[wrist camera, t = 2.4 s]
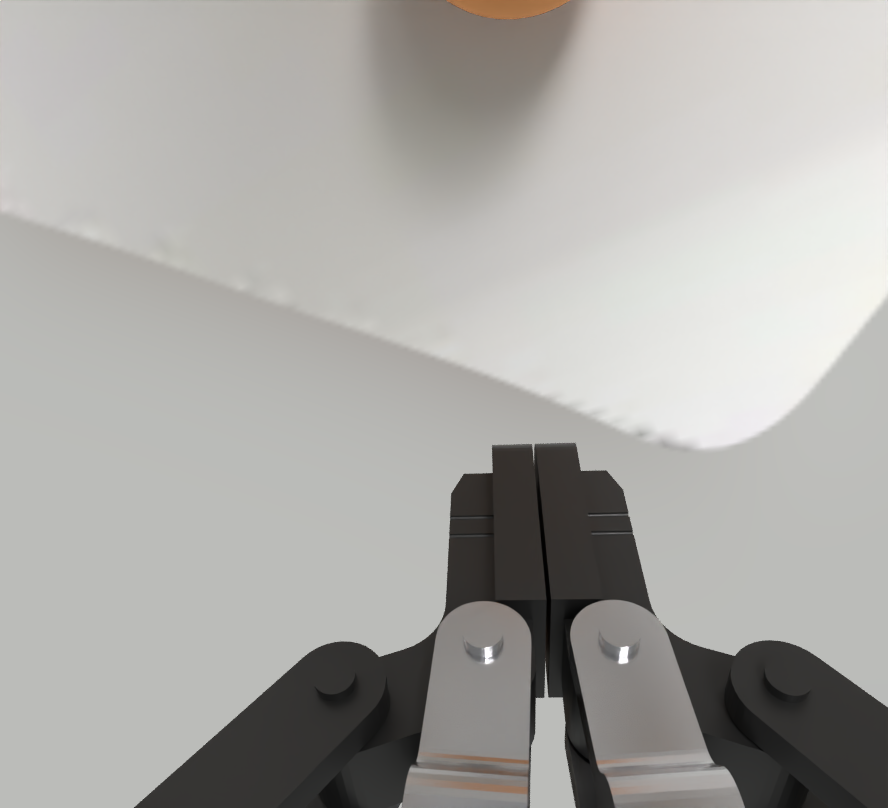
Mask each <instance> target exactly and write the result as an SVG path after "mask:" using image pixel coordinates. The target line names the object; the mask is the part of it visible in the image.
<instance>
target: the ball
mask: <svg viewBox="0 0 888 808" xmlns="http://www.w3.org/2000/svg"><path fill="white" fill-rule="evenodd" d="M447 1H448V2H450V3H451V4H453V5H454V6H456V7H458V8H461V9H463V10H465V11H467V12H469V13H473V14H476V15H479V16H482V17H488V18H494V19H520V18H527V17H532V16H536V15H539V14H543V13H546V12H548V11H551V10H553V9H555V8H557V7H560V6H562V5H563V4H565V3H566V2H568V1H570V0H447Z"/></svg>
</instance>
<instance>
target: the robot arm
mask: <svg viewBox="0 0 888 808" xmlns="http://www.w3.org/2000/svg"><path fill="white" fill-rule="evenodd" d="M492 459H493V460H492V461H493V473H486V474H484V473H483V474H464V475H463V476H462V478H461V479H460V481H459V482H458V484H457V486H456V487H455V489H454V490H453V492H452V493H451V511H450V532H449V534H450V538H449V552H448V573H447V594H446V608H445V612H444V615H443V618H442V620H441V622H440V624H439V625H438V627H437V628H436V629H435V630H434V632H433V633H431V635H429V636H428V637H427V638H426V639H424V640H423V641H422V642H420V643H418V644H416V645H415V646H412V647H409V648H407V649H404V650H401V651H398V652H394V653H391V654H388V655H384V656H381V657H378V655H377V654H376V653H375V652H373V651H372V650H371V649H369V648H367V647H366V646H364V645H361V644H358V643H354V642H334V643H330V644H326V645H323V646H321V647H319V648H317V649H315V650H313V651H311V652H310V653H309V654H307V655H306V656H305V657H303V658H302V659H301V660H300V661H299V662H298V663H297V664H296V665H294V666H293V667H292V668H291V669H290V670H289V671H288V672H287V673H285V674H284V675H283V676H282V677H281V678H280V679H279V680H277V681H276V682H275V683H274V684H273V685H272V686H271V687H270V688H269V689H267V690H266V691H265V692H264V693H263V694H262V695H261V696H259V697H258V698H257V699H256V700H255V701H254V702H253V703H252V704H250V705H249V706H248V707H247V708H246V709H245V710H244V711H242V712H241V713H240V714H239V715H238V716H237V717H236V718H235V719H233V720H232V721H231V722H230V723H229V724H228V725H227V726H226V727H224V728H223V729H222V730H221V731H220V732H219V733H218V734H217V735H216V736H214V737H213V738H212V739H211V740H210V741H209V742H207V743H206V744H205V745H204V746H203V747H202V748H201V749H200V750H198V751H197V752H196V753H195V754H194V755H193V756H192V757H191V758H189V759H188V760H187V761H186V762H185V763H184V764H183V765H182V766H180V767H179V768H178V769H177V770H176V771H175V772H174V773H173V774H171V775H170V776H169V777H168V778H167V779H166V780H165V781H164V782H162V783H161V784H160V785H159V786H158V787H157V788H156V789H155V790H153V791H152V792H151V793H150V794H149V795H148V796H147V797H145V798H144V799H143V800H142V801H141V802H140V803H139V804H138V805H137V806H136V807H134V808H398V807H399V805H400V803H402V802H403V803H402V808H530V767H531V764H530V763H531V744H532V742H533V740H534V735H535V704H536V702H535V701H536V698H544V688H545V687H544V685H545V662H546V673H547V685H548V697H563V702H564V713H565V722H566V724H565V750H566V756H567V761H568V767H569V772H570V778H571V784H572V789H573V795H574V801H575V806H576V808H888V707H886V706H885V705H883V704H882V703H881V702H879V701H878V700H876V699H875V698H874V697H872V696H871V695H869V694H868V693H867V692H865V691H864V690H862V689H861V688H860V687H858V686H857V685H855V684H854V683H853V682H851V681H850V680H849V679H847V678H846V677H844V676H843V675H841V674H840V673H839V672H837V671H836V670H834V669H833V668H832V667H830V666H829V665H828V664H826V663H825V662H823V661H822V660H821V659H819V658H818V657H816V656H815V655H813V654H811V653H810V652H808V651H807V650H805V649H802V648H801V647H798V646H796V645H793V644H790V643H786V642H781V641H770V640H769V641H759V642H754V643H752V644H749V645H747V646H745V647H744V648H742V649H741V650H740V651H739V652H738V653H737V654H736V656H732V655H728V654H725V653H721V652H717V651H714V650H710V649H706V648H703V647H699V646H697V645H693V644H691V643H689V642H687V641H684V640H683V639H681V638H679V637H677V636H676V635H674V634H673V633H672V632H670V631H669V630H668V629H667V628H666V627H665V626H664V625H663V624H662V623H661V622H660V621H659V619H658V618H657V617H656V615H655V613H654V612H653V610H652V607H651V604H650V601H649V597H648V593H647V588H646V584H645V580H644V576H643V572H642V568H641V564H640V559H639V555H638V551H637V547H636V543H635V539H634V535H633V532H632V531H633V530H632V526H631V522H630V517H628V509H627V505H626V501H625V496H624V493H623V489H622V488H621V487H620V486H619V485H618V484H617V482H616V481H615V480H614V479H613V478H612V477H611V476H610V474H609V473H608V472H607V471H581V470H580V464H579V458H578V453H577V447H576V444H575V443H551V444H535V448H534V461H533V450H532V444H522V445H520V444H518V445H492Z"/></svg>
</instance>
